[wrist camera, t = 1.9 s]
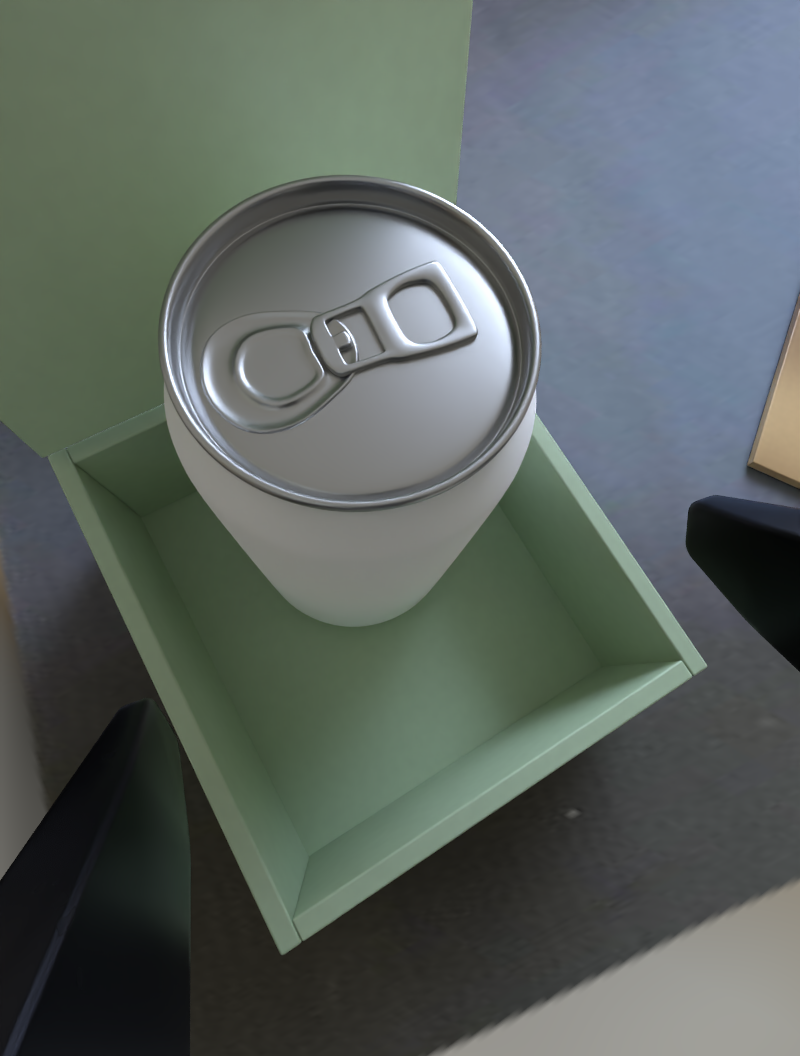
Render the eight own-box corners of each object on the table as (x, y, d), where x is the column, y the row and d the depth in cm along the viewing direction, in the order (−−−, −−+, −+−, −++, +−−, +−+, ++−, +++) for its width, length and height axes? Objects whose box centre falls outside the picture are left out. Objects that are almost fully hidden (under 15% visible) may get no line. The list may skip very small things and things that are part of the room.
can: (230, 490, 20) (63, 225, 9) (398, 421, 21) (450, 105, 10) (305, 663, 19) (225, 623, 7) (480, 579, 20) (651, 431, 8)
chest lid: (572, -1166, 4) (318, -1059, 6) (-2181, -1525, 2) (-1429, -1188, 4) (450, 274, 17) (379, 190, 18) (42, 459, 14) (-2, 345, 16)
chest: (615, 672, 20) (709, 666, 15) (303, 876, 18) (281, 958, 12) (422, 373, 22) (443, 276, 17) (127, 516, 20) (45, 455, 15)
